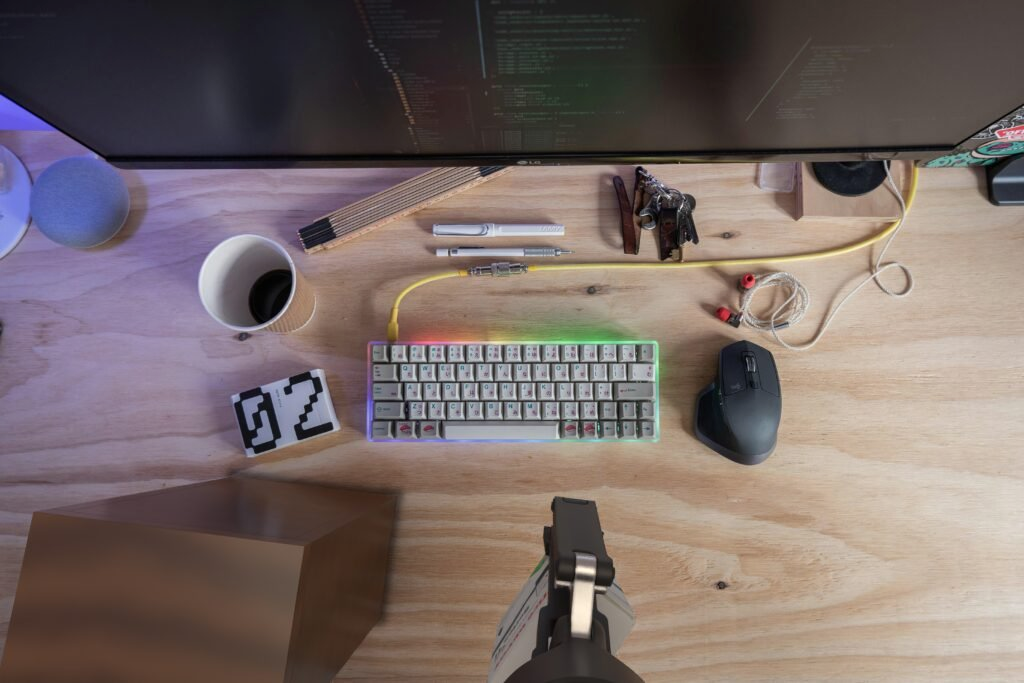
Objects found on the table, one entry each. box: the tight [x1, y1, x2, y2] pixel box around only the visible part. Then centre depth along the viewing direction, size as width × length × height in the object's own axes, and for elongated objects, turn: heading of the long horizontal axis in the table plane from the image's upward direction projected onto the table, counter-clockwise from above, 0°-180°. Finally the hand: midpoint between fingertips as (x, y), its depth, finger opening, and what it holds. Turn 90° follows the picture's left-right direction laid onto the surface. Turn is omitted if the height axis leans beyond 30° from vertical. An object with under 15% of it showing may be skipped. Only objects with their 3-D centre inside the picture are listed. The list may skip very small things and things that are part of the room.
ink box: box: [486, 554, 637, 683], centre depth 39 cm, size 9×5×12 cm, turn 144°
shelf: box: [0, 508, 312, 683], centre depth 43 cm, size 14×20×2 cm
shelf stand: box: [50, 475, 397, 683], centre depth 57 cm, size 14×20×28 cm
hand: (554, 607), depth 42 cm, fingers closed on ink box, 9 cm apart
